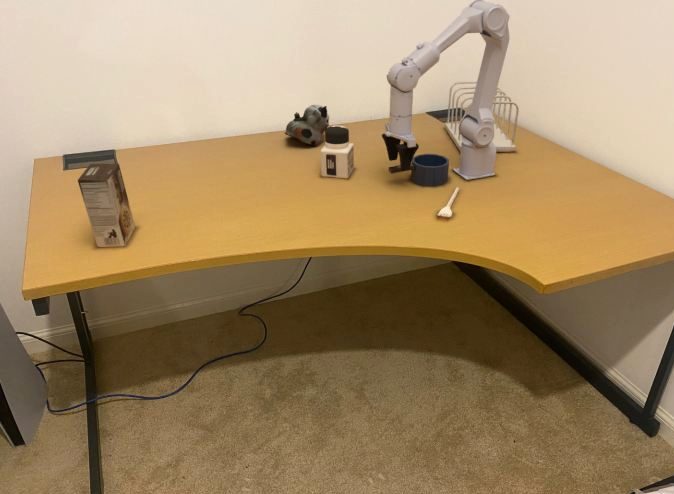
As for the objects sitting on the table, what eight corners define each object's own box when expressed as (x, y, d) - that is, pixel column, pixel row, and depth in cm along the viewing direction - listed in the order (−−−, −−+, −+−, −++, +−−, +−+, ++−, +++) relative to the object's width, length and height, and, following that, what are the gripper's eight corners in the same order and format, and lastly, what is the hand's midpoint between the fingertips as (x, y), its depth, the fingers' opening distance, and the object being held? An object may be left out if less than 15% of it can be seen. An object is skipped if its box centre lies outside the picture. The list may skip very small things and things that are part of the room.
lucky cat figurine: (286, 134, 190) (302, 94, 187) (319, 149, 192) (336, 110, 188) (279, 135, 176) (297, 92, 172) (315, 152, 177) (333, 109, 174)
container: (347, 179, 159) (347, 133, 152) (321, 176, 160) (319, 131, 153) (354, 168, 165) (353, 124, 158) (328, 166, 167) (326, 122, 159)
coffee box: (108, 228, 134) (90, 163, 125) (136, 227, 135) (120, 162, 126) (96, 247, 126) (75, 179, 118) (125, 246, 127) (107, 178, 118)
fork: (464, 190, 153) (464, 184, 152) (447, 223, 137) (448, 216, 136) (452, 189, 153) (452, 182, 152) (434, 221, 138) (435, 214, 137)
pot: (436, 170, 165) (437, 151, 162) (454, 183, 157) (455, 164, 154) (381, 179, 159) (382, 160, 156) (397, 193, 151) (397, 173, 148)
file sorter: (515, 152, 177) (523, 101, 168) (460, 154, 175) (465, 102, 167) (493, 126, 198) (499, 80, 189) (444, 128, 196) (447, 81, 188)
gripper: (375, 108, 150) (374, 157, 157) (398, 124, 139) (396, 176, 146) (399, 105, 152) (397, 154, 160) (424, 120, 141) (421, 172, 148)
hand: (398, 164), depth 153 cm, fingers open, 7 cm apart
